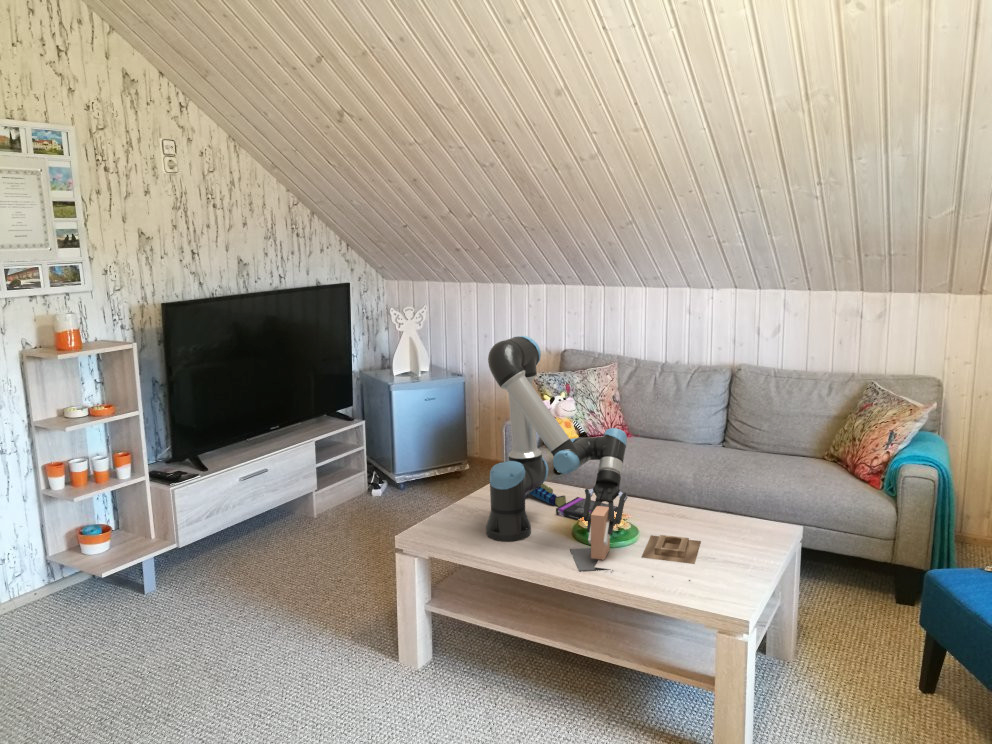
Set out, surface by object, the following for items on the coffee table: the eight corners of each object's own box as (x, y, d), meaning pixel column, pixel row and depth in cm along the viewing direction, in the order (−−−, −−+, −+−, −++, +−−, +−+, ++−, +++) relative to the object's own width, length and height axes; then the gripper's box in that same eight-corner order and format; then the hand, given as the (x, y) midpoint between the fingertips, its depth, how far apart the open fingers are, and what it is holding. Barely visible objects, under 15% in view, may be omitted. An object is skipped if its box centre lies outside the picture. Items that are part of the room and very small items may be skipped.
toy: (534, 487, 314) (535, 463, 312) (578, 509, 296) (580, 484, 293) (507, 495, 306) (508, 471, 304) (551, 518, 287) (552, 492, 285)
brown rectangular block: (591, 558, 245) (590, 514, 242) (597, 548, 252) (597, 505, 250) (604, 559, 243) (603, 516, 241) (609, 549, 251) (609, 507, 248)
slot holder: (641, 561, 245) (641, 551, 245) (650, 539, 262) (651, 529, 261) (694, 568, 240) (694, 557, 239) (701, 545, 257) (701, 535, 256)
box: (555, 517, 286) (602, 528, 274) (555, 508, 285) (602, 518, 273) (577, 505, 297) (623, 516, 284) (577, 496, 296) (623, 506, 283)
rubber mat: (579, 571, 240) (579, 570, 240) (570, 550, 255) (570, 548, 255) (631, 568, 241) (631, 567, 241) (619, 547, 257) (619, 546, 257)
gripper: (637, 481, 255) (627, 550, 243) (585, 477, 261) (572, 544, 249) (634, 470, 250) (623, 541, 237) (581, 466, 255) (568, 534, 243)
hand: (597, 542), depth 243 cm, fingers closed on brown rectangular block, 4 cm apart
